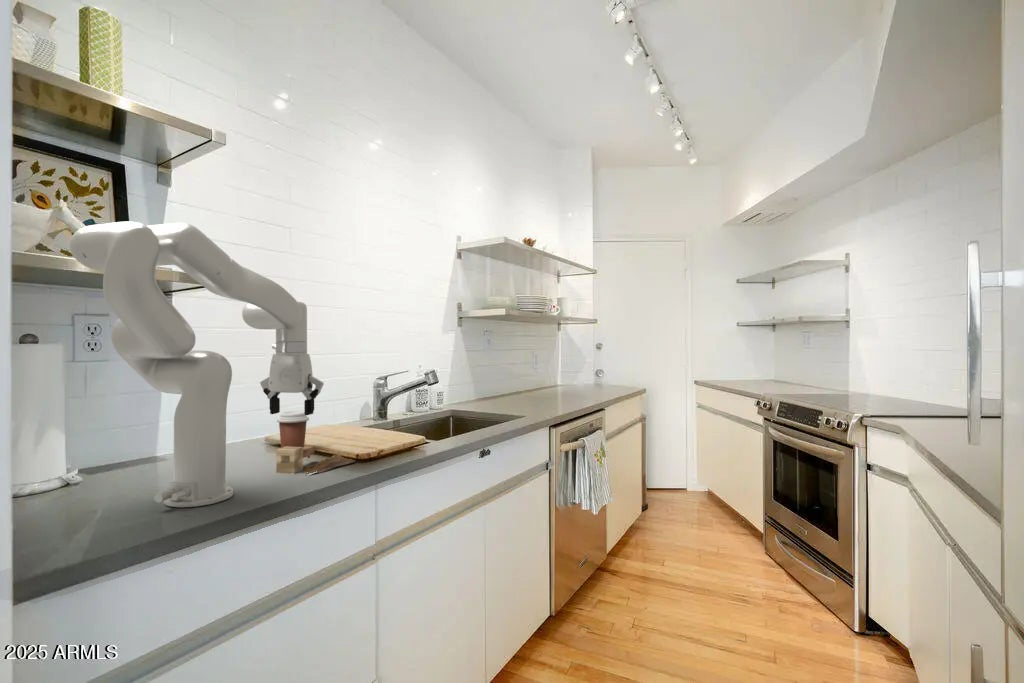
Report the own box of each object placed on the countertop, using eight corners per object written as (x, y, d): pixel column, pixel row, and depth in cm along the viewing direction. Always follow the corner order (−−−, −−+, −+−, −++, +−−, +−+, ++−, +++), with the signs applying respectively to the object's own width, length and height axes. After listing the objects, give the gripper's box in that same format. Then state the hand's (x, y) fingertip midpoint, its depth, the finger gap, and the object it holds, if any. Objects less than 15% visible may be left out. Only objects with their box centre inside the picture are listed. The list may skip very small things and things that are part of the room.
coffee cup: (269, 452, 153) (270, 413, 154) (294, 447, 162) (295, 409, 162) (290, 456, 149) (290, 415, 149) (315, 450, 157) (315, 411, 157)
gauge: (294, 473, 129) (294, 450, 129) (276, 472, 130) (276, 449, 130) (318, 462, 141) (319, 441, 141) (302, 462, 142) (302, 440, 142)
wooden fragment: (340, 454, 154) (340, 450, 154) (373, 456, 151) (373, 453, 151) (283, 476, 128) (283, 471, 128) (321, 479, 126) (322, 475, 126)
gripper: (252, 348, 130) (252, 415, 130) (314, 349, 127) (314, 417, 127) (270, 348, 137) (270, 411, 137) (329, 348, 134) (329, 412, 135)
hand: (291, 413), depth 132 cm, fingers open, 9 cm apart
